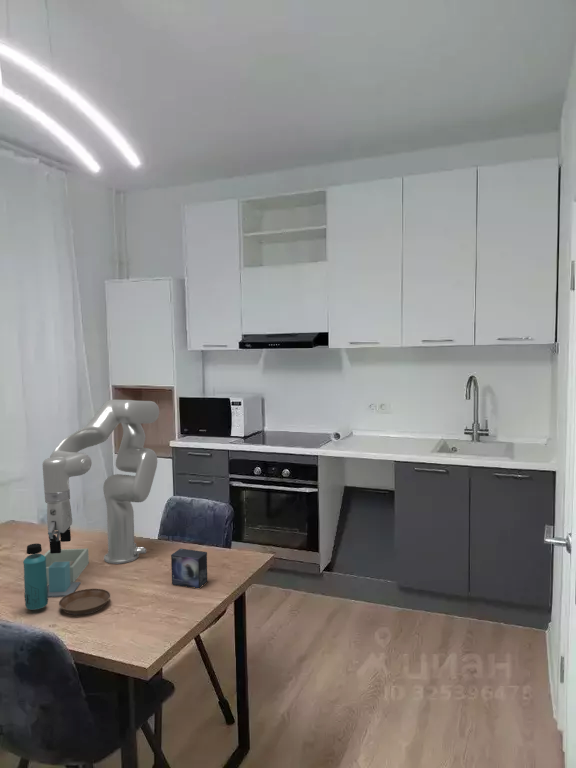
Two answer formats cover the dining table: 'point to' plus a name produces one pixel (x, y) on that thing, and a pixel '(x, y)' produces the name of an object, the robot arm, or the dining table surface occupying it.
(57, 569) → the block
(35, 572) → the beverage bottle
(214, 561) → the dining table surface
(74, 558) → the frame
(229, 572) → the dining table surface
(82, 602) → the saucer
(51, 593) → the mat
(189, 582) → the small box
